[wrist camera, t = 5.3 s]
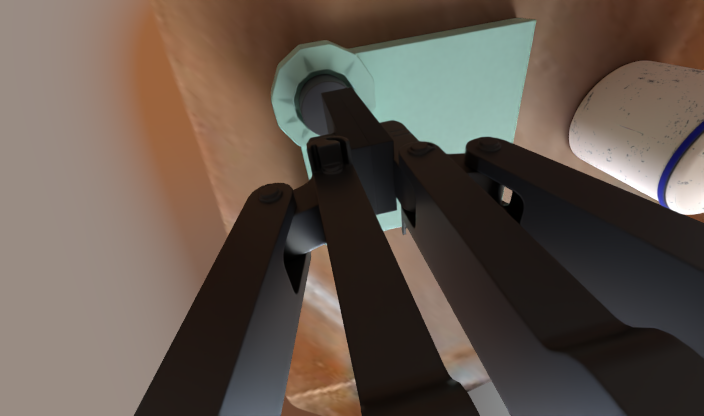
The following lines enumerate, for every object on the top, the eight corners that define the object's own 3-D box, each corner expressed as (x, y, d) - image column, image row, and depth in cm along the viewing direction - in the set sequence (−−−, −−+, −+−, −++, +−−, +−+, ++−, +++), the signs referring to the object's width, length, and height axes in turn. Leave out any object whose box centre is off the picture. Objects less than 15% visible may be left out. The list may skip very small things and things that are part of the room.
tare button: (346, 69, 17) (353, 76, 16) (352, 120, 19) (359, 131, 18) (293, 79, 17) (295, 87, 16) (305, 130, 19) (308, 142, 17)
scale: (520, 0, 20) (560, 1, 17) (489, 191, 29) (513, 212, 26) (260, 46, 19) (258, 56, 16) (311, 234, 27) (316, 261, 25)
